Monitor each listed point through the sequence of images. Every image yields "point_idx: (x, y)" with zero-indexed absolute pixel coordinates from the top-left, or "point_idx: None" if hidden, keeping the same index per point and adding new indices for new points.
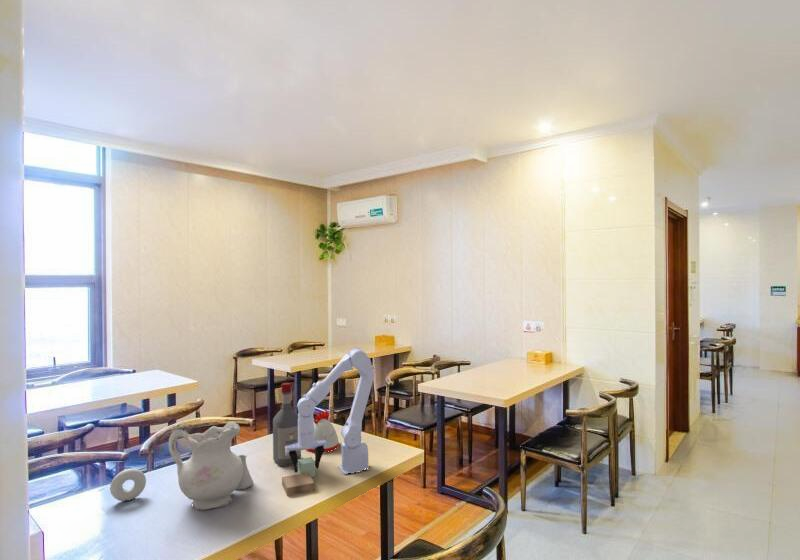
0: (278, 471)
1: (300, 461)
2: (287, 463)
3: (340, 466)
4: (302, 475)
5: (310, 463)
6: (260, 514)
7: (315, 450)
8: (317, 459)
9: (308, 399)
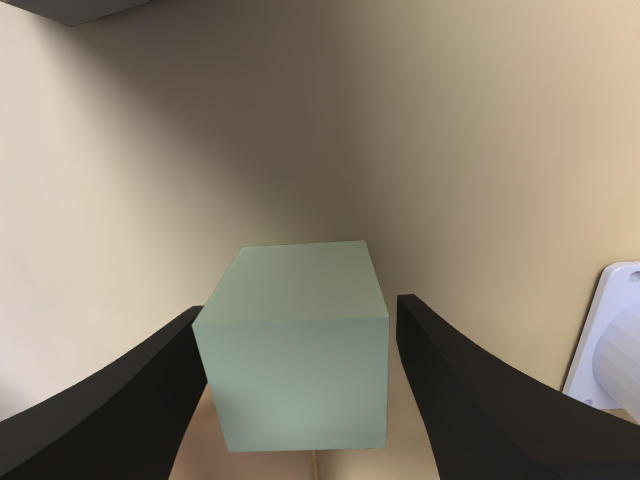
0: (49, 141)
1: (225, 386)
2: (101, 13)
3: (618, 293)
4: (253, 454)
5: (334, 440)
6: None
7: (482, 463)
8: (429, 436)
9: None
